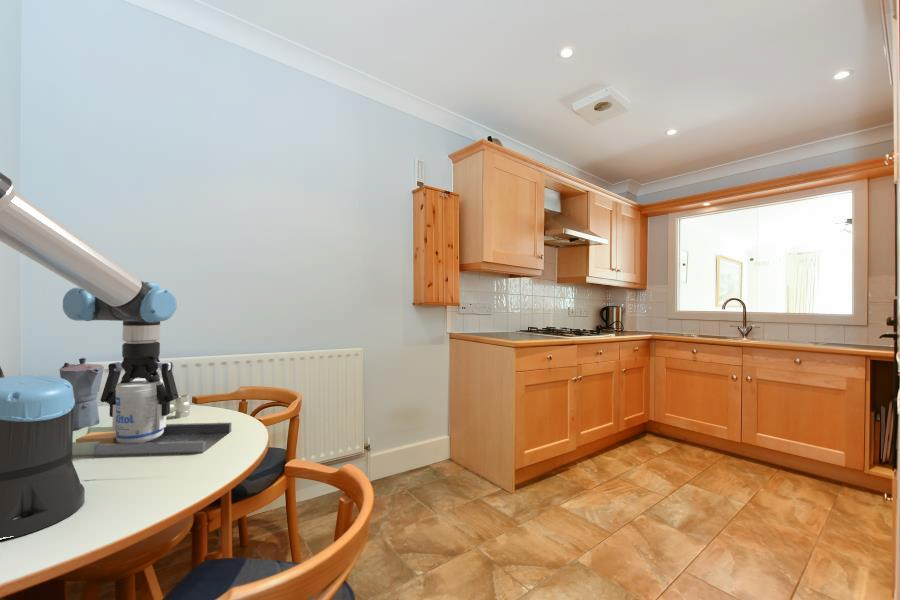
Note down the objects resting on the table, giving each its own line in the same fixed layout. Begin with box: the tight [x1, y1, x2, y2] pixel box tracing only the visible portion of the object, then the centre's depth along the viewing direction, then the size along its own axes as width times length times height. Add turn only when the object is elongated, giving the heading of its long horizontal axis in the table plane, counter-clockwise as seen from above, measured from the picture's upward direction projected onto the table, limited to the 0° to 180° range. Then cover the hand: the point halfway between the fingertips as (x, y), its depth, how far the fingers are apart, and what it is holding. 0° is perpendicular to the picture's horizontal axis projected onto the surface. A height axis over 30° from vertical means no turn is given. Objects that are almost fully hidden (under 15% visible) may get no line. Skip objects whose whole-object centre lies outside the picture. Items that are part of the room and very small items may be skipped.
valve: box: [169, 394, 191, 419], centre depth 119 cm, size 7×7×12 cm
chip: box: [76, 432, 107, 442], centre depth 96 cm, size 5×4×2 cm
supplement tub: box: [116, 377, 164, 443], centre depth 98 cm, size 10×10×15 cm
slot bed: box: [92, 422, 233, 458], centre depth 98 cm, size 16×24×3 cm, turn 97°
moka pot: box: [59, 357, 105, 432], centre depth 111 cm, size 10×15×20 cm, turn 79°
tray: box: [72, 425, 116, 456], centre depth 96 cm, size 13×12×3 cm
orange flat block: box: [94, 432, 119, 444], centre depth 97 cm, size 5×4×2 cm
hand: (139, 428), depth 98 cm, fingers closed on supplement tub, 9 cm apart
